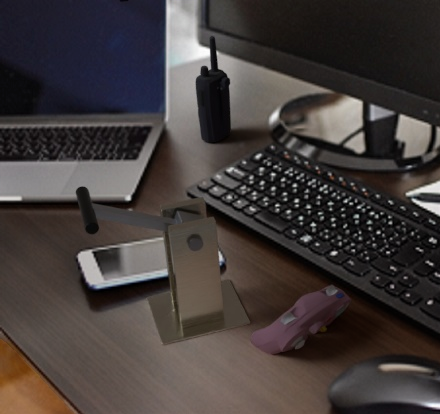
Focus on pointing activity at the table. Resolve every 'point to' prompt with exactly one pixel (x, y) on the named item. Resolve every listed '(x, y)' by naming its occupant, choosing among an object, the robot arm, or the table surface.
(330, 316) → the pink toy race car
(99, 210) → the lever
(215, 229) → the bracket
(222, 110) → the two-way radio
